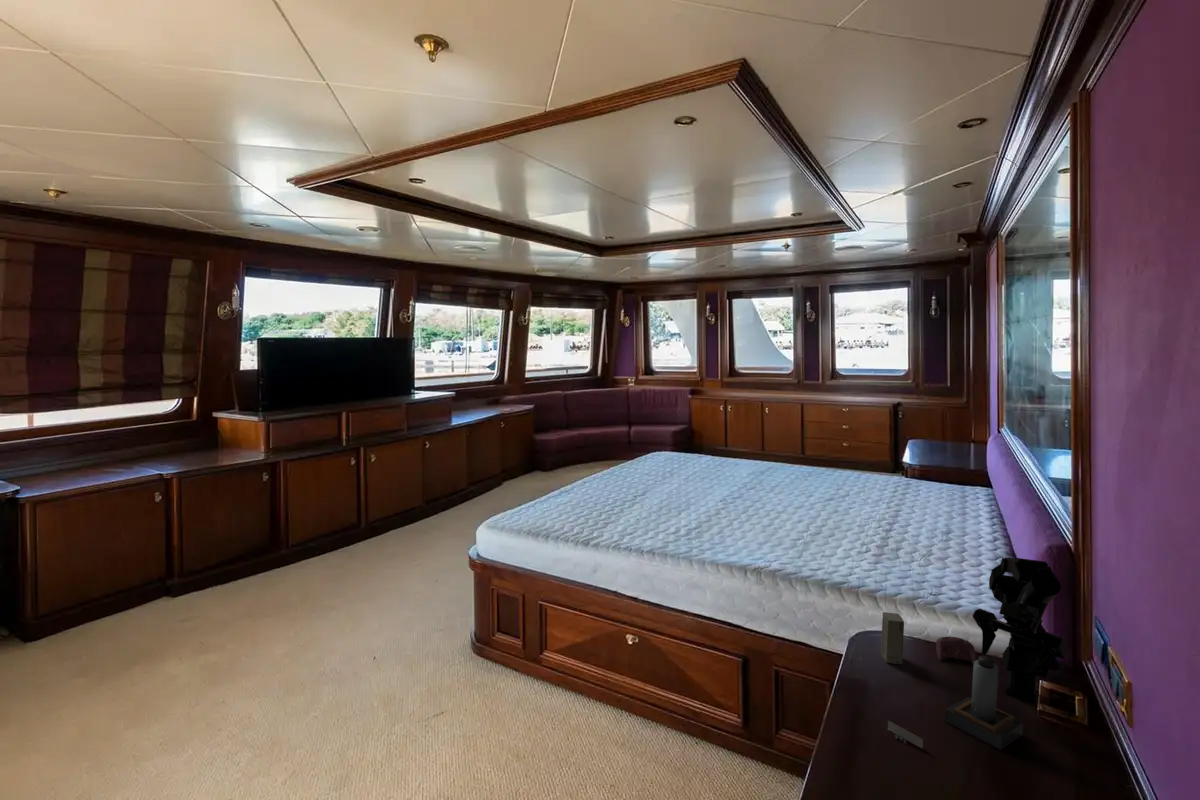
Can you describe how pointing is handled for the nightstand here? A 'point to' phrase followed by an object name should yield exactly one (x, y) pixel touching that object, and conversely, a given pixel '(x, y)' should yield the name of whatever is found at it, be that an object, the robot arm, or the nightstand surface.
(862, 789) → the nightstand surface
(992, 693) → the white capped bottle
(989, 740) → the grey rectangular box
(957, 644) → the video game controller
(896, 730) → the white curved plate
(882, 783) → the nightstand surface
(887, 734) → the nightstand surface
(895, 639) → the skincare box
